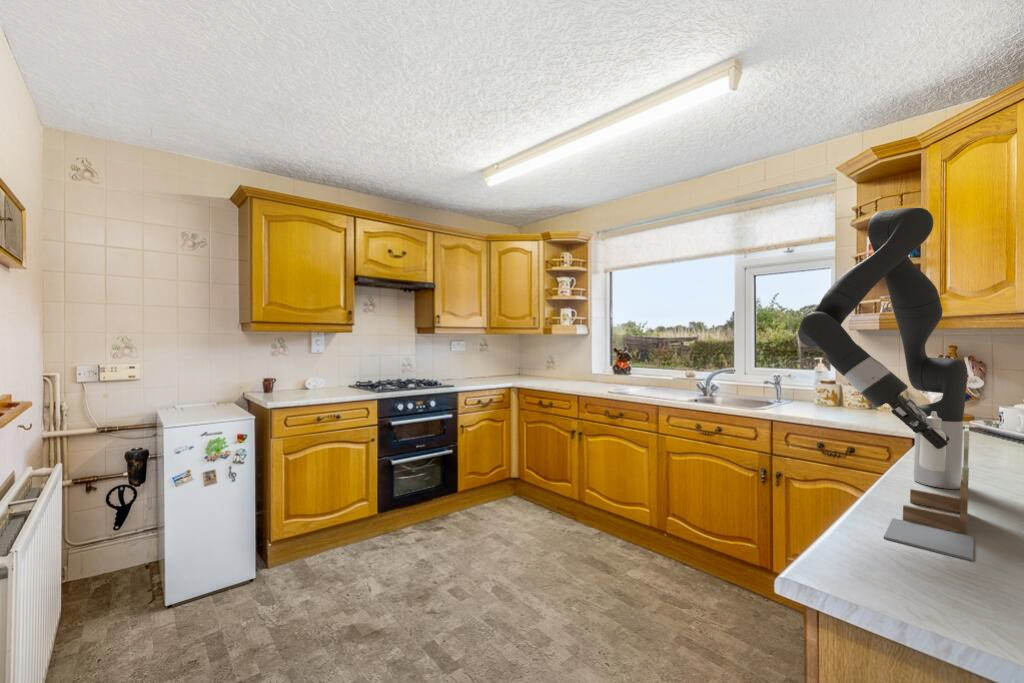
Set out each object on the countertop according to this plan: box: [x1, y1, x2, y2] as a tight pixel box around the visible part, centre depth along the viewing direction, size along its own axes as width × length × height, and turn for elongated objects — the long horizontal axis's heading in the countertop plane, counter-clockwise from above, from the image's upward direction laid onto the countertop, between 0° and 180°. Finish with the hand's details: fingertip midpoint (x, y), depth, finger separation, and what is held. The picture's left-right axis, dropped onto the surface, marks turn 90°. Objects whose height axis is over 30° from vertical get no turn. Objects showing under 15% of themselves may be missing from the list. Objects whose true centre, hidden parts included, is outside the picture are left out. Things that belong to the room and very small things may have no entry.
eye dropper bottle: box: [919, 411, 946, 472], centre depth 97 cm, size 4×6×12 cm
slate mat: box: [883, 517, 975, 562], centre depth 88 cm, size 13×12×1 cm
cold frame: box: [902, 421, 970, 535], centre depth 99 cm, size 16×10×20 cm, turn 135°
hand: (944, 444), depth 96 cm, fingers closed on eye dropper bottle, 5 cm apart
